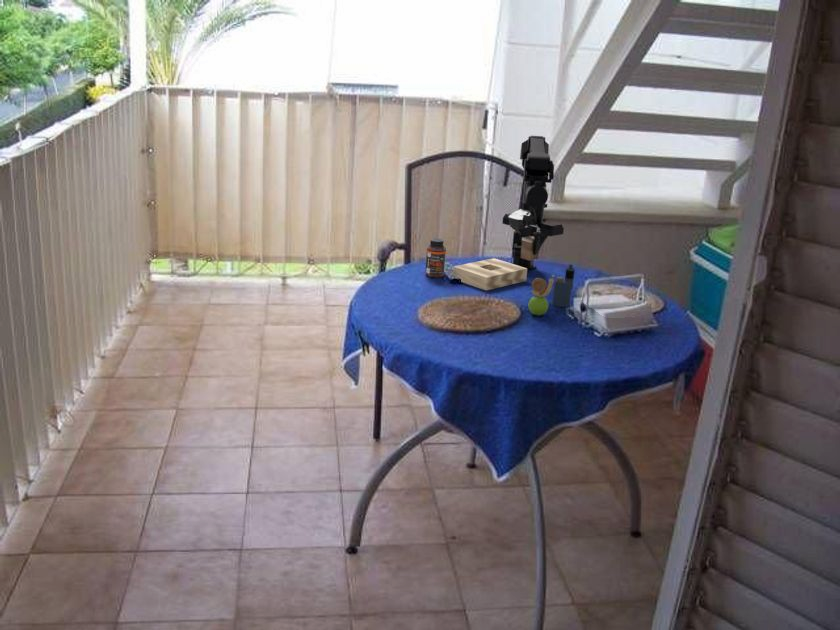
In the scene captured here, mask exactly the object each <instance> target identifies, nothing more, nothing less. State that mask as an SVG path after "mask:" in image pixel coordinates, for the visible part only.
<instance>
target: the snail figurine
mask: <svg viewBox="0 0 840 630" xmlns="http://www.w3.org/2000/svg"><path fill="white" fill-rule="evenodd" d="M551 277H552V278H549V279H548V283H547V281H546V280H545V279H543V278H542V277H536V278H534V279H533V280H532V282H531V288H532V290H530V292H531V294H532V295H533V296H532V297H531V298H530V299H529V301H528V305H527V307H528V310H529V312H530V313H531V314H533V315H534V316H543V315H544V314H546V313H547V312H548V310H549V302H548V299H547V298H546V297H547V296H548V295H550V293H551V290H552V288H553V286H554V283H555V279H554V278H556V275H555V274H552V275H551Z"/></svg>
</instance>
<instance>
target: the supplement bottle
mask: <svg viewBox="0 0 840 630" xmlns="http://www.w3.org/2000/svg"><path fill="white" fill-rule="evenodd" d="M425 254H426V258H425V259H426V260H425V268H424V269H425V270H424V271H425V275H426V276H427V277H430V278H443V277H444V276H445V269H446V257H447V256H446V254H447V248H446V247H445V246H444V239H442V238H431V239H430V243H429V245H428V246H427V247H426V253H425Z"/></svg>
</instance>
